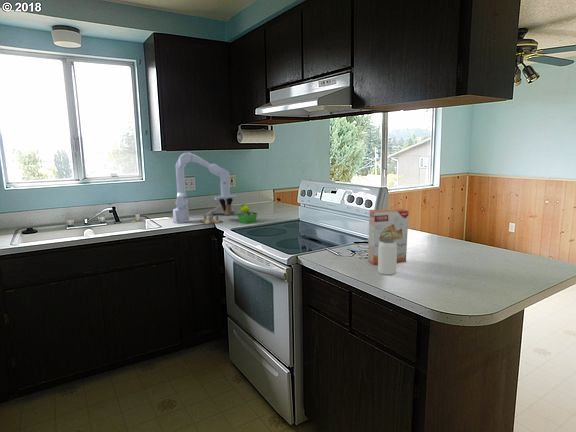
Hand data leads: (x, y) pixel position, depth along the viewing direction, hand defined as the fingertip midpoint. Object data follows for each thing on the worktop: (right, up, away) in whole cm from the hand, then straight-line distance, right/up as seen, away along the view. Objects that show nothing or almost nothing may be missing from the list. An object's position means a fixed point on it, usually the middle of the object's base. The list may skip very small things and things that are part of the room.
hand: (226, 210), depth 244 cm
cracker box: (+79, -22, -93) cm, 124 cm away
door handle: (-7, -2, +27) cm, 28 cm away
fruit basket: (+14, -7, -5) cm, 17 cm away
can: (+76, -24, -105) cm, 132 cm away
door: (0, -2, 0) cm, 2 cm away
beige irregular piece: (-9, -7, -2) cm, 12 cm away
